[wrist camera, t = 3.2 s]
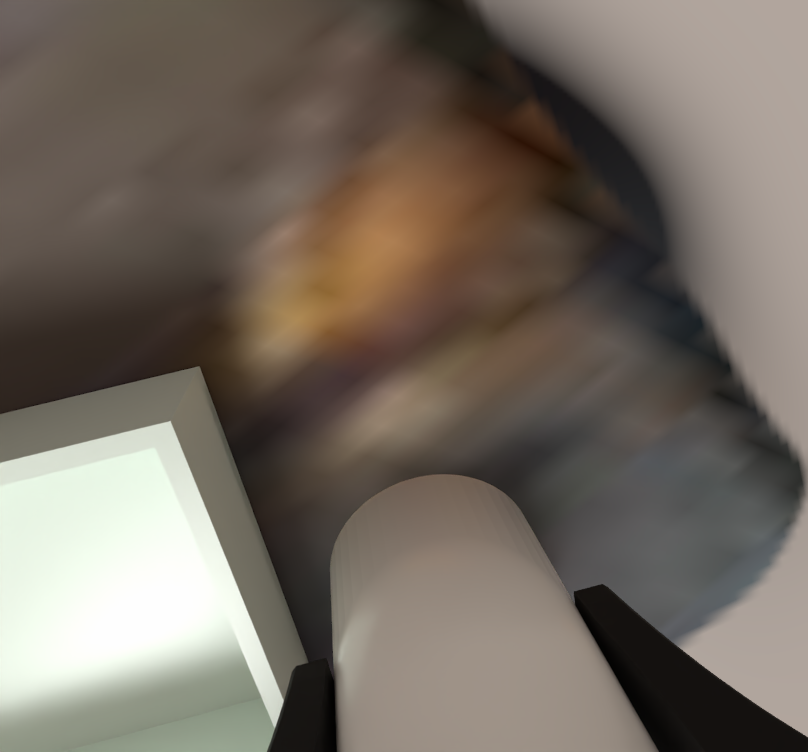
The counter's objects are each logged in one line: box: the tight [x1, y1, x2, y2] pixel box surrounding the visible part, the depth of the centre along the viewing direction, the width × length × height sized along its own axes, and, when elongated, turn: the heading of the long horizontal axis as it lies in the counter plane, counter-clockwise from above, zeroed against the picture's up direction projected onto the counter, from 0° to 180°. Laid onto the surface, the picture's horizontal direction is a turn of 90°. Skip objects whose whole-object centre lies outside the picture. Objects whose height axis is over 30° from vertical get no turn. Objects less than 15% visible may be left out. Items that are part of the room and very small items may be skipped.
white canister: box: [330, 474, 659, 752], centre depth 11 cm, size 5×5×7 cm
